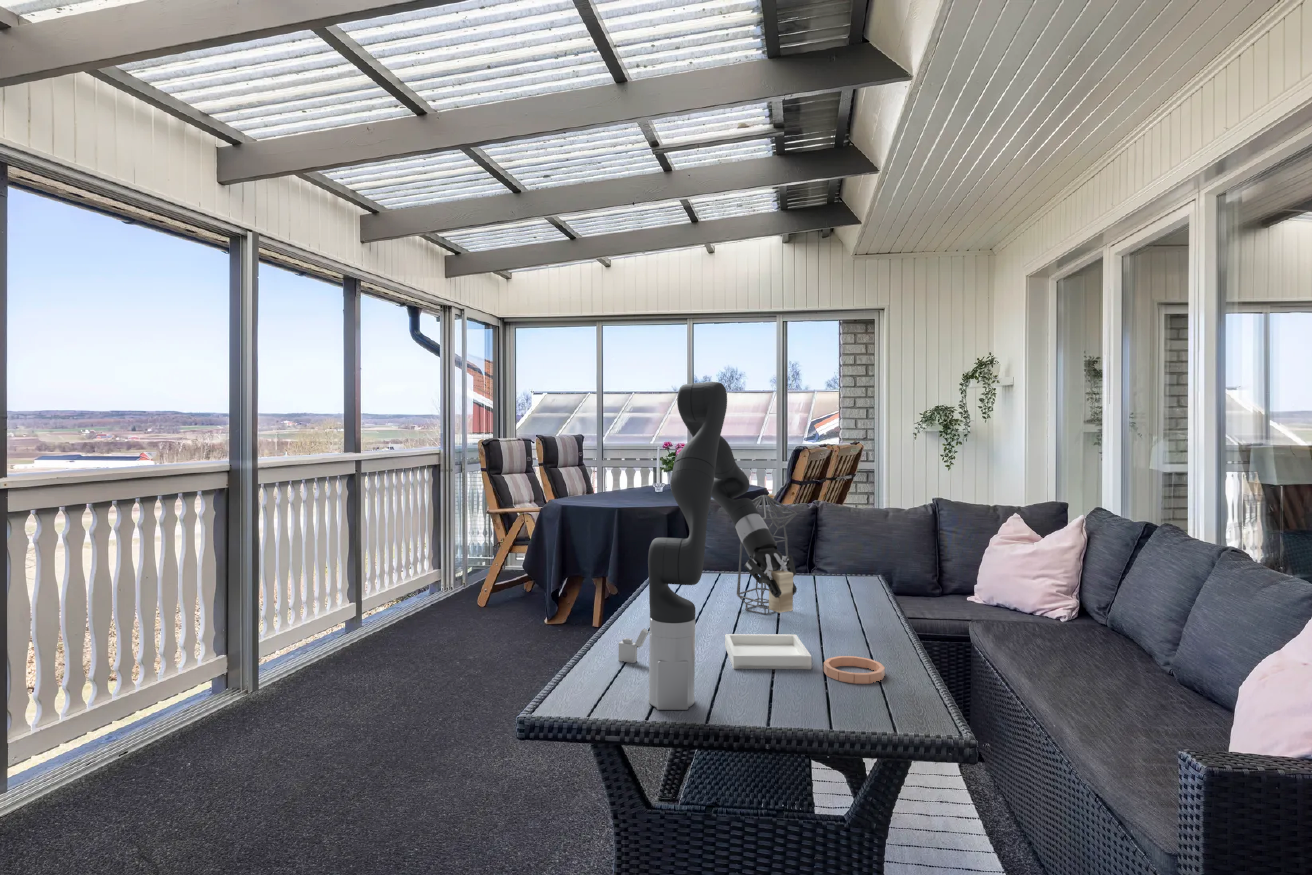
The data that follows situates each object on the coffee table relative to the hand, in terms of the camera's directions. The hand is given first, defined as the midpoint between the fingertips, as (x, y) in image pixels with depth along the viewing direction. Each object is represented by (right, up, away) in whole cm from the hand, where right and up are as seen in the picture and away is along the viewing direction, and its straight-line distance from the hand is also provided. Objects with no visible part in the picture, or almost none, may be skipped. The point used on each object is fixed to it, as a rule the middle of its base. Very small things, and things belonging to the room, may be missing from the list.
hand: (786, 594), depth 184 cm
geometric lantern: (+1, -15, +49) cm, 51 cm away
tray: (-4, -16, +4) cm, 17 cm away
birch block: (-1, -4, +2) cm, 5 cm away
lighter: (-36, -16, -1) cm, 40 cm away
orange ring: (+14, -16, -8) cm, 23 cm away
